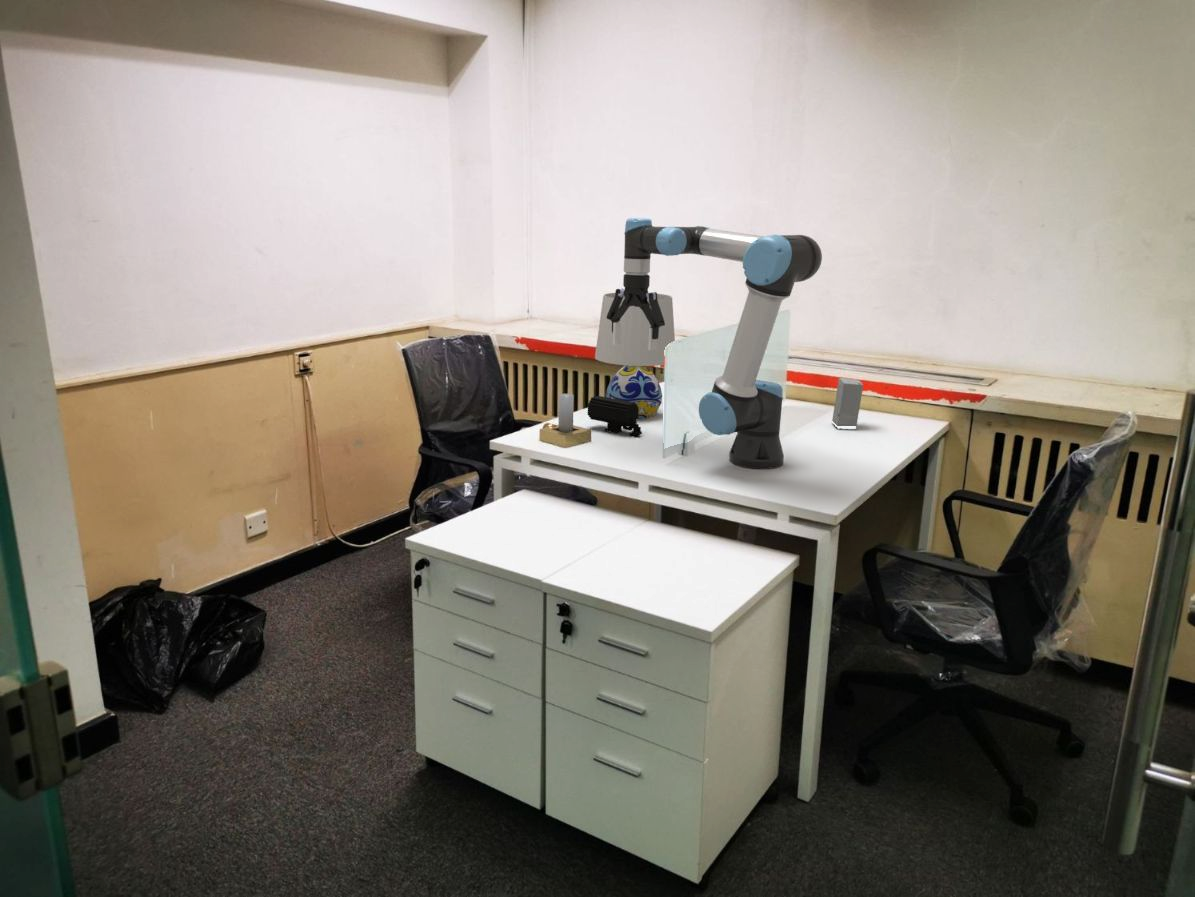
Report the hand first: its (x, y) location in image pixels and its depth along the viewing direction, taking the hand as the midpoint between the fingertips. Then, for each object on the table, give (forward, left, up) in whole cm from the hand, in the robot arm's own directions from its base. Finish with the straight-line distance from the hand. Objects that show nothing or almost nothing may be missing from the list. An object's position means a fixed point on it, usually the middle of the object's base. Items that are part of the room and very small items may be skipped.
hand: (634, 347), depth 264 cm
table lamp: (+22, -27, -29) cm, 45 cm away
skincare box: (-36, -66, -29) cm, 81 cm away
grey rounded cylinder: (+14, +14, -29) cm, 35 cm away
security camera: (+11, -5, -29) cm, 31 cm away
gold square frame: (+15, +14, -29) cm, 35 cm away
